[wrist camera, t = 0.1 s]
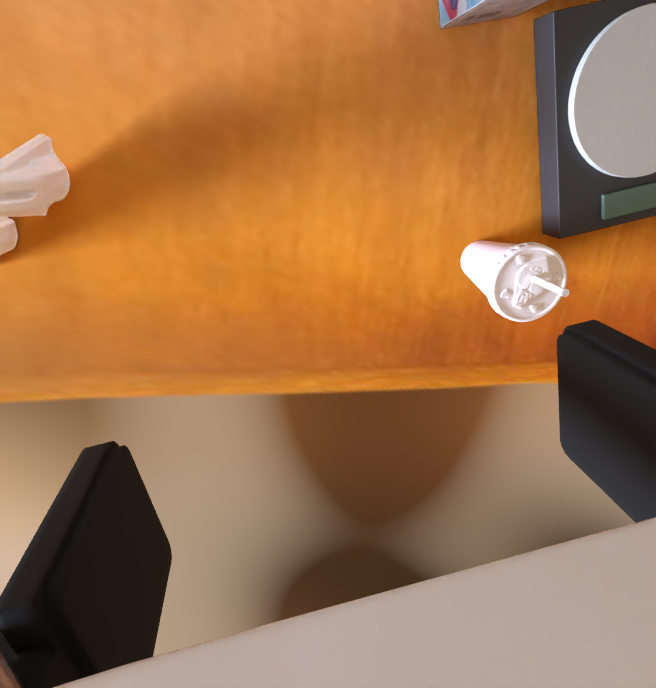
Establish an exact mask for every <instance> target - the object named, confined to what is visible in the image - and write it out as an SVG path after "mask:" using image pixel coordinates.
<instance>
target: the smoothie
mask: <svg viewBox="0 0 656 688" xmlns="http://www.w3.org/2000/svg"><path fill="white" fill-rule="evenodd" d="M461 267H462V270H463V271H464V273H465V274H466V275H467V276H468V277H469V278H470V279H471V280H472V281H473V282H474V283H475V284H476V285H477V286H478V288H479V289H480V290H481V291H482V292H483V293H484V294H485V295H486V296H487V297H488V300H489V302H490V305H491V306H492V307H493V309H494V310H495V311H496V312H497V313H499V314H500V315H502V316H503V317H506V318H508V319H510V320H513V321H517V322H527V321H532V320H535V319H538V318H540V317H542V316H544V315H545V314H547V313H548V312H549V311H551V310H552V309H553V308H554V307H555V305H556V304H557V303H558V302H559V300H560V298H561V297H562V296H564V297H566V296H568V294H569V290H568V289H566V288H565V286H566V282H567V270H566V266H565V263H564V261H563V259H562V257H561V256H560V255H559V254H558V253H557V252H556V251H555V250H554V249H552V248H550V247H548V246H546V245H543V244H540V243H537V242H525V243H521V244H511V243H502V242H493V241H484V240H479V241H475V242H473V243H471V244H470V245H469V246H467V248H466V249H465V250H464V252H463V254H462V257H461Z"/></svg>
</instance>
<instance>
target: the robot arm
mask: <svg viewBox="0 0 656 688" xmlns="http://www.w3.org/2000/svg"><path fill="white" fill-rule="evenodd" d="M557 359H558V390H559V420H560V441H561V445H562V448H563V450H564V452H565V453H566V455H567V456H568V457H569V458H570V459H571V460H572V461H573V462H574V463H575V464H576V465H577V466H578V467H579V468H580V469H581V470H582V471H583V472H584V473H585V474H586V475H587V476H588V477H589V478H590V479H592V480H593V481H594V482H595V483H596V484H597V485H598V486H599V487H600V488H601V489H602V490H603V491H604V492H605V493H606V494H607V495H608V496H609V497H610V498H611V499H612V500H613V501H614V502H615V503H616V504H617V505H618V506H619V507H620V508H621V509H622V510H623V511H624V512H625V513H626V514H628V516H629V517H630V518H632V519H633V520H634V521H635V522H636V523H633V524H629V525H626V526H622V527H618V528H615V529H611V530H607V531H604V532H600V533H596V534H592V535H589V536H585V537H582V538H578V539H575V540H571V541H567V542H563V543H560V544H557V545H553V546H549V547H545V548H542V549H538V550H535V551H531V552H527V553H524V554H520V555H516V556H513V557H509V558H506V559H502V560H498V561H495V562H491V563H488V564H484V565H480V566H477V567H473V568H470V569H466V570H462V571H459V572H455V573H451V574H448V575H444V576H441V577H437V578H433V579H430V580H426V581H423V582H419V583H415V584H412V585H408V586H404V587H401V588H397V589H394V590H390V591H387V592H383V593H379V594H375V595H372V596H368V597H365V598H361V599H357V600H354V601H350V602H346V603H343V604H339V605H336V606H332V607H328V608H325V609H321V610H318V611H314V612H310V613H307V614H303V615H300V616H296V617H292V618H288V619H285V620H282V621H278V622H275V623H271V624H268V625H264V626H260V627H257V628H253V629H250V630H246V631H242V632H239V633H236V634H232V635H228V636H225V637H221V638H218V639H214V640H211V641H207V642H204V643H200V644H196V645H193V646H189V647H186V648H182V649H179V650H175V651H172V652H168V653H164V654H161V655H158V656H154V657H153V653H154V648H155V643H156V638H157V633H158V627H159V622H160V617H161V612H162V607H163V602H164V597H165V591H166V586H167V581H168V576H169V571H170V566H171V559H172V555H171V548H170V544H169V541H168V539H167V537H166V534H165V532H164V530H163V528H162V525H161V523H160V520H159V518H158V516H157V514H156V511H155V509H154V506H153V504H152V502H151V499H150V497H149V495H148V493H147V490H146V488H145V485H144V483H143V481H142V479H141V476H140V474H139V472H138V469H137V467H136V464H135V462H134V460H133V457H132V455H131V453H130V451H129V449H128V448H127V447H126V446H125V445H124V446H119V445H118V444H117V443H116V442H114V441H112V442H107V443H103V444H99V445H95V446H91V447H87V448H85V449H83V451H82V452H81V454H80V456H79V457H78V459H77V461H76V463H75V464H74V466H73V468H72V470H71V471H70V473H69V475H68V477H67V479H66V481H65V482H64V484H63V486H62V488H61V489H60V491H59V493H58V495H57V496H56V498H55V500H54V502H53V504H52V505H51V507H50V509H49V511H48V512H47V514H46V516H45V518H44V519H43V521H42V523H41V525H40V527H39V529H38V530H37V532H36V534H35V535H34V537H33V539H32V541H31V543H30V544H29V546H28V548H27V550H26V551H25V553H24V555H23V557H22V559H21V561H20V562H19V564H18V566H17V567H16V569H15V571H14V573H13V575H12V576H11V578H10V580H9V582H8V583H7V585H6V587H5V589H4V591H3V593H2V594H1V596H0V688H656V350H655V349H653V348H651V347H649V346H647V345H645V344H643V343H641V342H639V341H637V340H635V339H633V338H631V337H629V336H627V335H625V334H623V333H621V332H619V331H617V330H615V329H613V328H611V327H609V326H607V325H605V324H603V323H601V322H599V321H597V320H590V321H586V322H582V323H578V324H574V325H570V326H567V327H566V328H565V329H564V332H563V334H562V335H559V337H558V339H557Z"/></svg>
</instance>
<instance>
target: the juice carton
mask: <svg viewBox="0 0 656 688" xmlns="http://www.w3.org/2000/svg"><path fill="white" fill-rule="evenodd" d="M546 1H547V0H439V13H440V26H441V29H445V28H451V27H456V26H462V25H468V24H473V23H479V22H484V21H490V20H496V19H501V18H507V17H513V16H518V15H520V14H522V13H524V12H526V11H528V10H530V9H532V8H534V7H536V6H538V5H540V4H542V3H544V2H546Z"/></svg>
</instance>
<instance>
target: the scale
mask: <svg viewBox="0 0 656 688" xmlns="http://www.w3.org/2000/svg"><path fill="white" fill-rule="evenodd" d="M534 37H535V61H536V85H537V109H538V133H539V157H540V181H541V205H542V229H543V234H546V235H549V236H552V237H556V238H559V239H561V238H565V237H569V236H573V235H578V234H582V233H586V232H590V231H594V230H598V229H602V228H606V227H610V226H614V225H619V224H623V223H627V222H631V221H635V220H639V219H643V218H647V217H651V216H656V0H602V1H597V2H593V3H588V4H584V5H579V6H575V7H570V8H565V9H561V10H556V11H553V12H551V13H548V14H546V15H544V16H542V17H540V18H537V19H535V20H534Z"/></svg>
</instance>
